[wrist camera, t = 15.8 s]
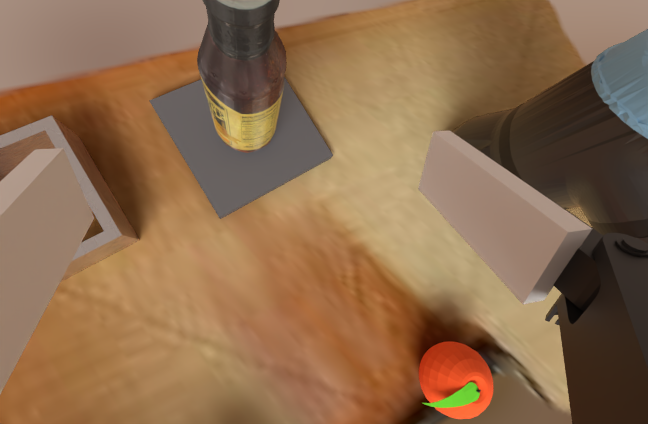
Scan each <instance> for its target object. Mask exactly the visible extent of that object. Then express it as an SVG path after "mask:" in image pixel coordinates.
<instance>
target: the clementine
mask: <svg viewBox="0 0 648 424" xmlns="http://www.w3.org/2000/svg"><path fill="white" fill-rule="evenodd" d="M419 380H420V384H421V388H422V391H423V393H424V395H425V397H426V398H427V400H428V401H429V402H430V403H423V404H425V405H428V406H431V407H435V408H436V410H438V411H440V412H441V413H443V414H445V415H447V416H449V417H452V418H456V419H468V418H473V417H475V416H477V415H479V414H480V413H481V412H483V411H484V410H485V409H486V408H487V406H488V405H489V403H490V401H491V399H492V396H493V378H492V375H491V371H490V369H489V367H488V365H487V363H486V362H485V361H484V359H483V358H482V357H481V356H480V355H479V354H478V353H477V352H476V351H475V350H473V349H472V348H470V347H468V346H467V345H465V344H462V343H458V342H452V341H449V342H442V343H439V344H436V345H434V346H432V347H431V348H430V349H428V350H427V352H426V353H425V354H424V355H423V358H422V360H421V362H420V367H419Z"/></svg>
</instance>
